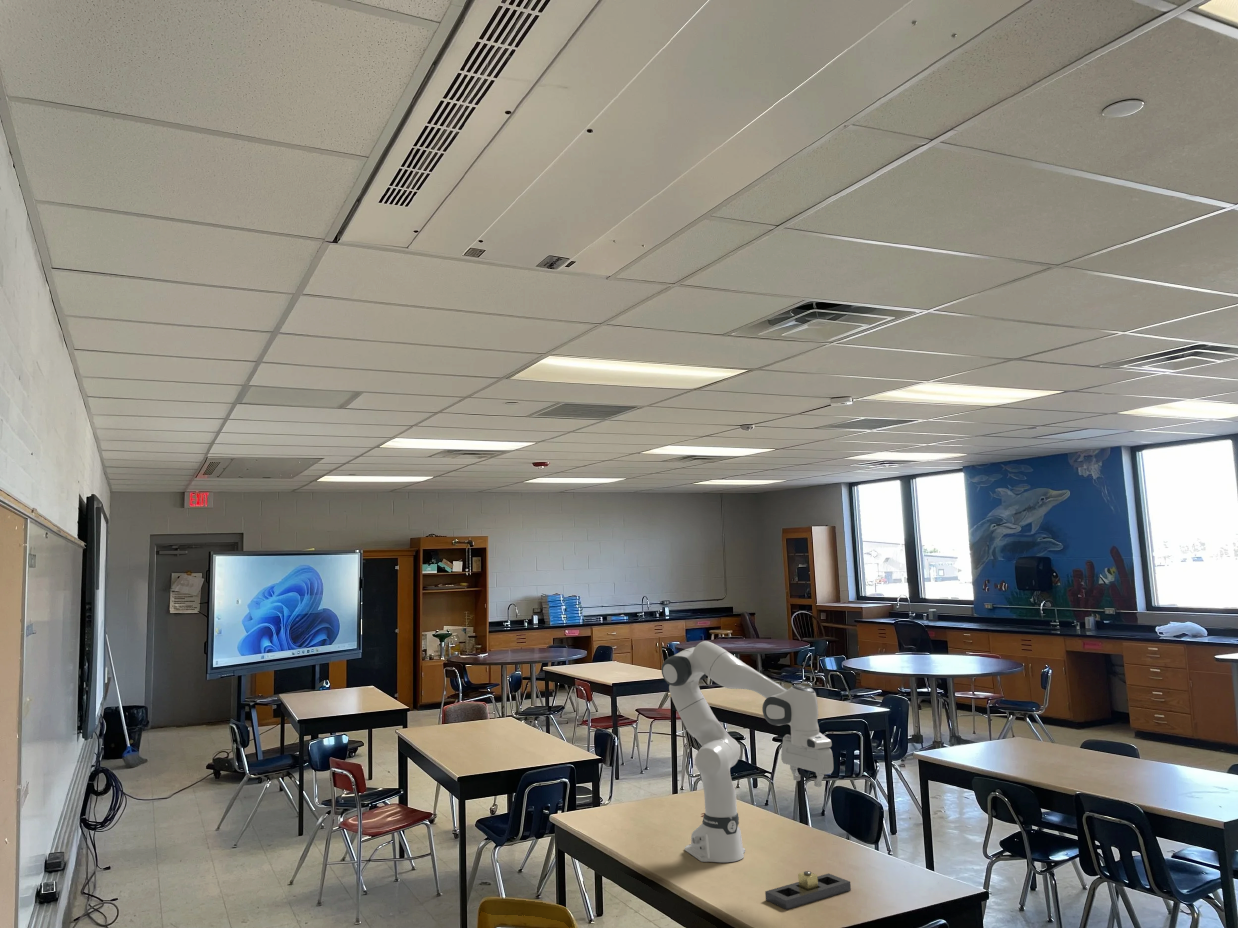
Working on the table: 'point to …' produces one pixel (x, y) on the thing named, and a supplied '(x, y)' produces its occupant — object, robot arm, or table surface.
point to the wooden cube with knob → (808, 880)
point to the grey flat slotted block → (807, 892)
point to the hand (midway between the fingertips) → (807, 783)
